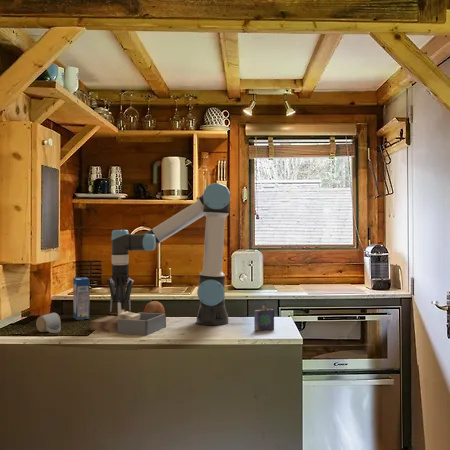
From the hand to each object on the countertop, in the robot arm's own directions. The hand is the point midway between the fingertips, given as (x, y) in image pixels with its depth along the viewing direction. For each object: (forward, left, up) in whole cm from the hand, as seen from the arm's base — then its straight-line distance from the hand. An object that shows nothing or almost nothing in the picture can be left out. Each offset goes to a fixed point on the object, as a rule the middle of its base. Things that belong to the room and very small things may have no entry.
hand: (120, 316), depth 230 cm
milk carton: (+32, -16, -6) cm, 36 cm away
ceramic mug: (+27, +15, -6) cm, 31 cm away
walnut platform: (+4, 0, -5) cm, 7 cm away
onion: (-7, -19, -6) cm, 21 cm away
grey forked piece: (+24, -38, -6) cm, 45 cm away
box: (-11, 0, -5) cm, 12 cm away
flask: (-62, -16, -6) cm, 64 cm away
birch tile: (-4, 0, -1) cm, 4 cm away
